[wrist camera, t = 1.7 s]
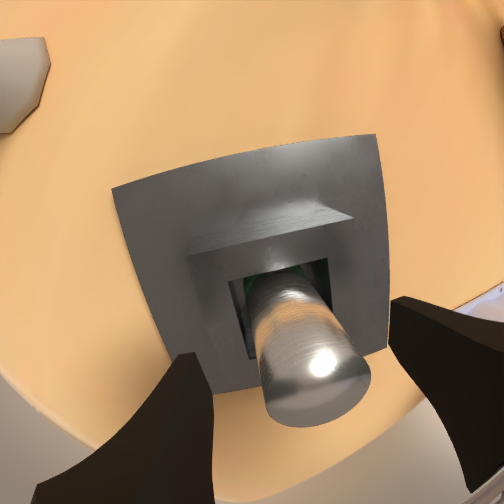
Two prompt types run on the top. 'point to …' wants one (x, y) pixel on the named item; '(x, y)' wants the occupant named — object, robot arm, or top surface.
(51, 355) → the top surface
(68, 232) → the top surface
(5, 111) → the flask
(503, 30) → the plant pot
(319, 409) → the steel column
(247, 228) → the charcoal stand
